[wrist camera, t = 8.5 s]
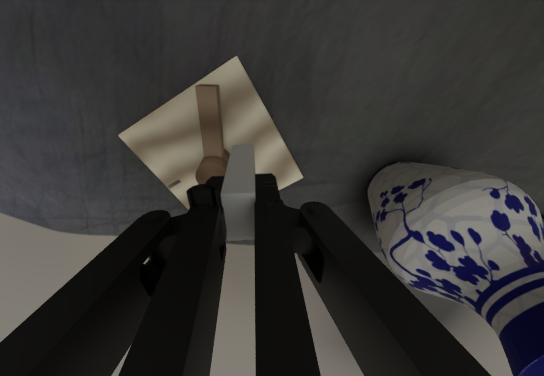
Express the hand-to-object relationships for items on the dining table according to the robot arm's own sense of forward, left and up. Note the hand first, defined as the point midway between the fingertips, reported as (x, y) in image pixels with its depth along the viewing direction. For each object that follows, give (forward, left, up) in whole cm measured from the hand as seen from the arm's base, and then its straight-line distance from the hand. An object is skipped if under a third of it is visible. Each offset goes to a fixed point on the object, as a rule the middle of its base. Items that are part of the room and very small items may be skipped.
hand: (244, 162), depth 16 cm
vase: (+27, +17, -22) cm, 39 cm away
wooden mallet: (+4, -9, -20) cm, 22 cm away
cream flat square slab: (+4, -9, -22) cm, 24 cm away
